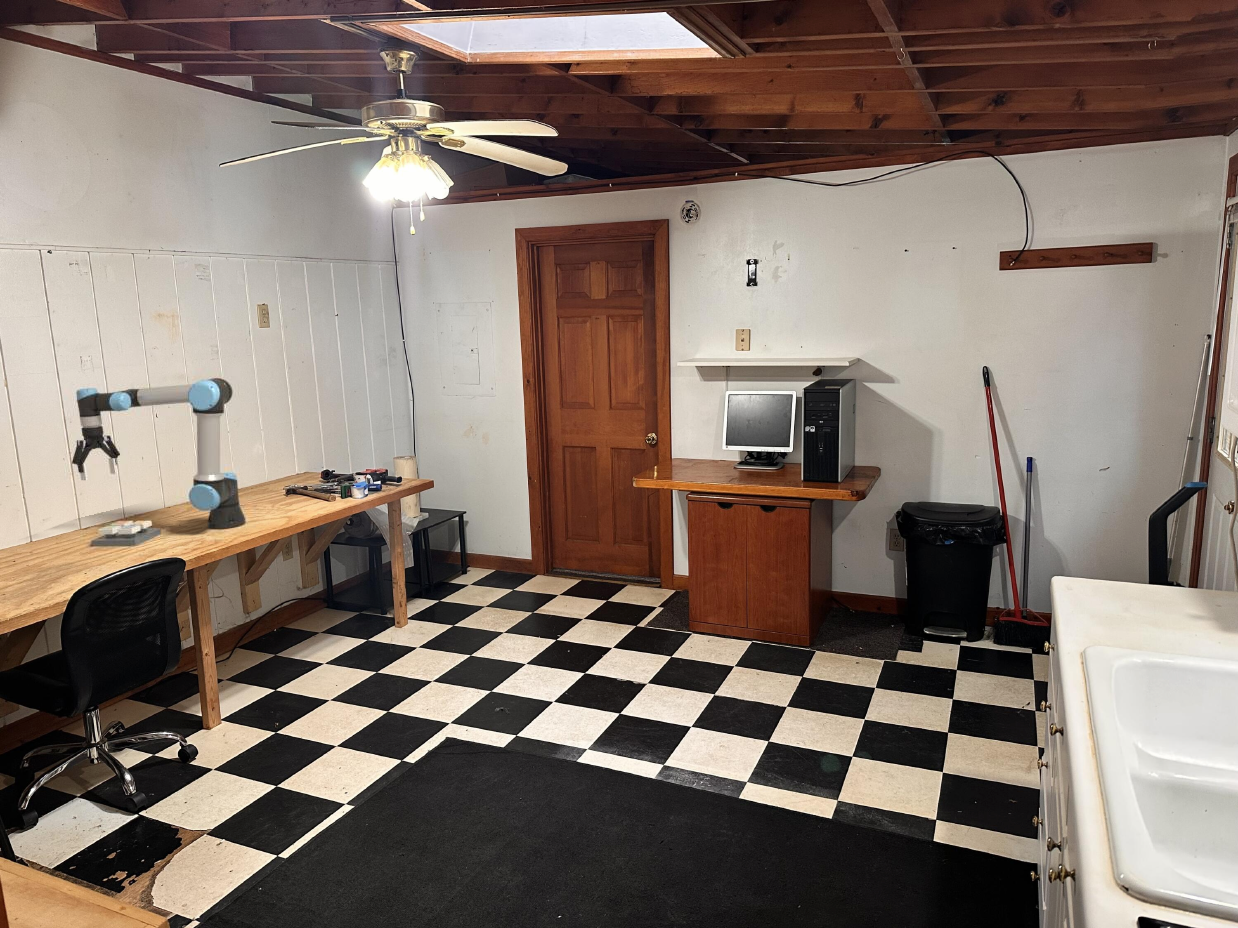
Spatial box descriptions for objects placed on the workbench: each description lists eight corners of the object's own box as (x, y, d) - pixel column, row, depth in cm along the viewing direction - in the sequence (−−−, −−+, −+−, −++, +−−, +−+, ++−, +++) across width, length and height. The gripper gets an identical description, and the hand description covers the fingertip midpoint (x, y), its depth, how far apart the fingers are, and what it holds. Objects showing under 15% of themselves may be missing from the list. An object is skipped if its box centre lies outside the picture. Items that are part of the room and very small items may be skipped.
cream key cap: (152, 529, 360) (151, 520, 360) (144, 533, 355) (143, 523, 354) (139, 529, 361) (137, 520, 360) (130, 533, 355) (129, 523, 354)
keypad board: (160, 533, 363) (160, 528, 362) (135, 545, 345) (134, 540, 345) (119, 534, 364) (118, 528, 363) (92, 546, 346) (91, 540, 346)
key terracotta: (134, 530, 361) (132, 520, 360) (125, 533, 355) (124, 523, 354) (120, 530, 361) (119, 520, 360) (111, 533, 355) (110, 524, 355)
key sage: (122, 535, 353) (120, 525, 352) (113, 538, 347) (112, 528, 346) (108, 535, 353) (107, 525, 352) (99, 539, 348) (98, 529, 347)
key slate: (141, 534, 353) (139, 524, 352) (132, 538, 347) (131, 528, 346) (127, 535, 353) (126, 525, 352) (118, 538, 347) (117, 528, 346)
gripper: (111, 421, 367) (118, 470, 371) (56, 430, 344) (64, 482, 348) (124, 422, 364) (131, 471, 368) (70, 431, 341) (78, 483, 345)
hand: (99, 476), depth 358 cm, fingers open, 13 cm apart
